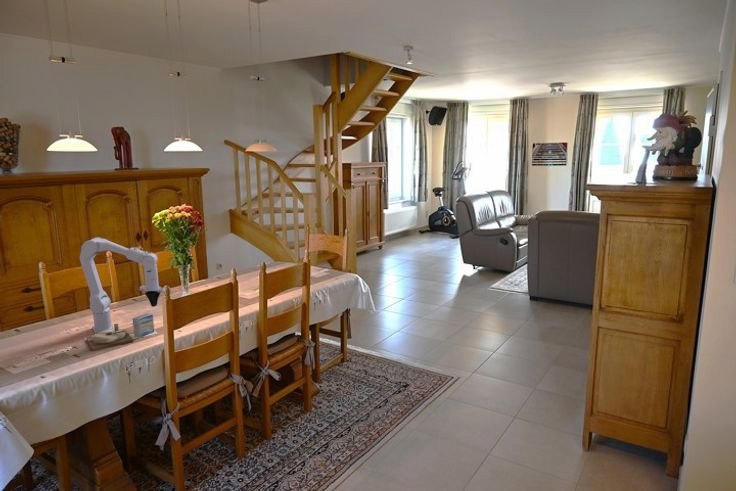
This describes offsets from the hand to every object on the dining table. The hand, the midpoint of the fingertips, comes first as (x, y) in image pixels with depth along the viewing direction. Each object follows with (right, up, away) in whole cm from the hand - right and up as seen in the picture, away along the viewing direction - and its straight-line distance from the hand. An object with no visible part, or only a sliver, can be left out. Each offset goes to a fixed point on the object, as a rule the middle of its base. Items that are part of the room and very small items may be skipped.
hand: (154, 306), depth 237 cm
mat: (-1, -12, -8) cm, 15 cm away
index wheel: (-13, -12, -16) cm, 24 cm away
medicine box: (-1, -12, -8) cm, 15 cm away
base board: (-13, -14, -16) cm, 25 cm away
